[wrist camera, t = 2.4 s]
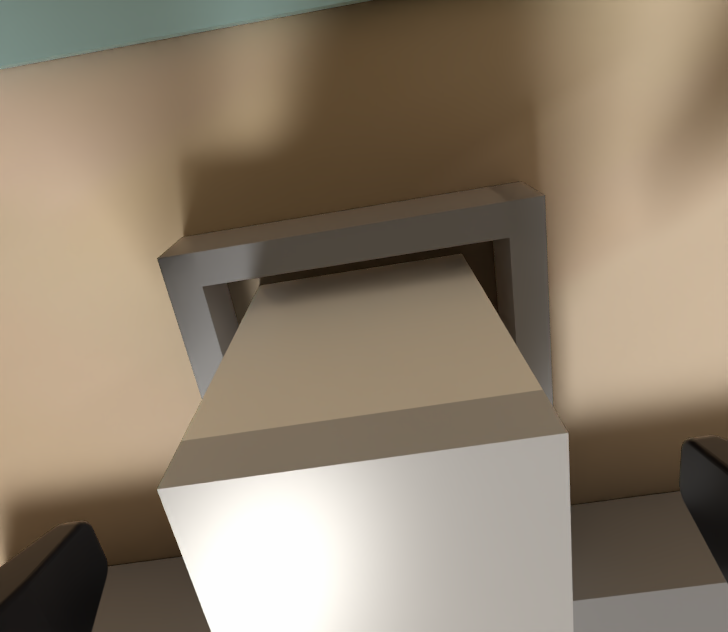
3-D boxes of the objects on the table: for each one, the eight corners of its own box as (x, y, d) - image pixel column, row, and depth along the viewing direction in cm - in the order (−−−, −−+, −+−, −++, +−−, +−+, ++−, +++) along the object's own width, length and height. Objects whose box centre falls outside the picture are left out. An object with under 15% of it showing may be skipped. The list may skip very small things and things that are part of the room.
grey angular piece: (89, 731, 16) (40, 849, 14) (-154, 292, 11) (-307, 353, 8) (802, 649, 15) (890, 762, 12) (908, 116, 10) (1096, 129, 7)
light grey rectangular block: (310, 486, 13) (270, 788, 7) (259, 285, 11) (156, 488, 5) (482, 462, 13) (577, 757, 7) (461, 252, 11) (568, 433, 5)
